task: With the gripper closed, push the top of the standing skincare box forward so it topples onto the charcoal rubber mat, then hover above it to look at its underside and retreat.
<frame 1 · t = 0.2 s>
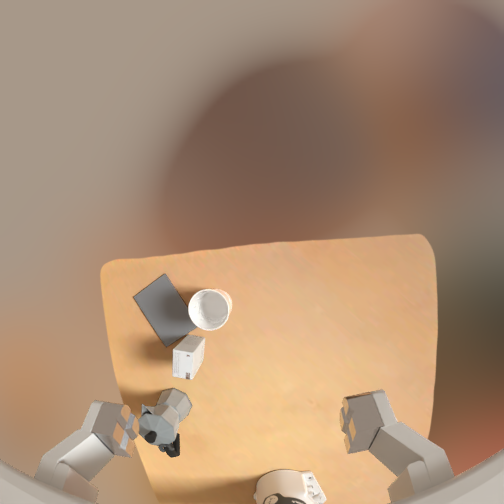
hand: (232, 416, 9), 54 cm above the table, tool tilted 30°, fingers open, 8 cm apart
white cup: (217, 303, 63), on the table
skincare box: (196, 348, 63), on the table
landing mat: (165, 310, 64), on the table
coffee maker: (177, 406, 62), on the table
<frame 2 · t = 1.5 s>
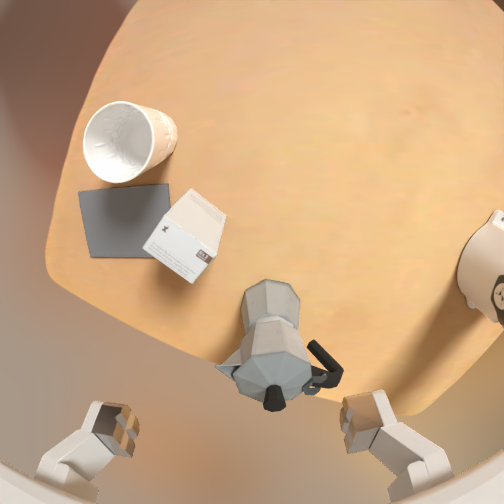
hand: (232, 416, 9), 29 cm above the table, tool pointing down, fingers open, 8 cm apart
white cup: (153, 137, 32), on the table
skincare box: (201, 212, 36), on the table
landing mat: (124, 222, 37), on the table
coffee maker: (277, 305, 42), on the table
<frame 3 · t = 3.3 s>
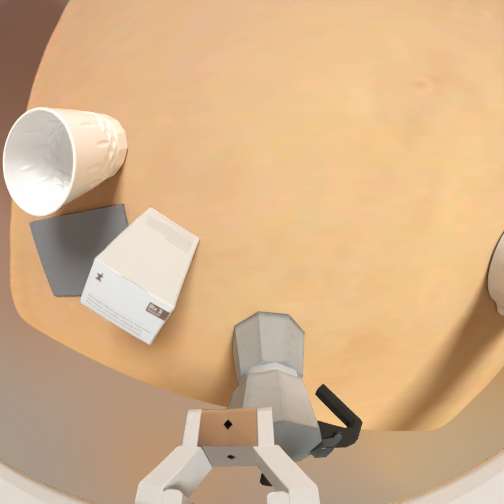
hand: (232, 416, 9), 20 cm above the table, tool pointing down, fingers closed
white cup: (99, 147, 24), on the table
skincare box: (168, 236, 28), on the table
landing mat: (82, 255, 29), on the table
coffee maker: (276, 340, 33), on the table
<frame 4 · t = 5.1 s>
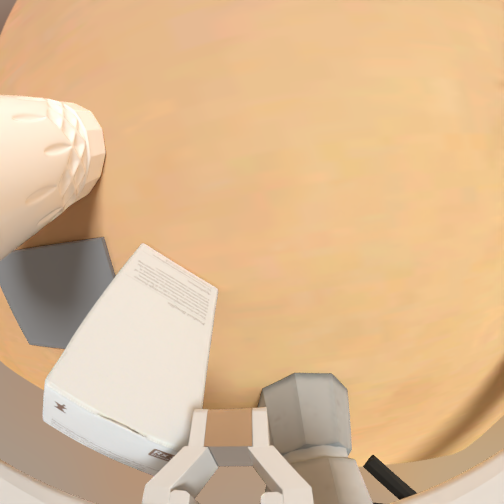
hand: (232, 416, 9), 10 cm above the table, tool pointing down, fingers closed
white cup: (66, 152, 15), on the table
skincare box: (171, 284, 19), on the table, touching gripper
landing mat: (56, 301, 20), on the table
coffee maker: (313, 399, 25), on the table
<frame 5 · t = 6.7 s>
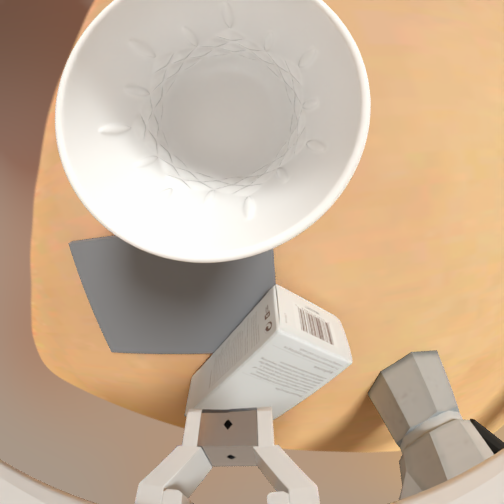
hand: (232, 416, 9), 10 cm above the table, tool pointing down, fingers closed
white cup: (229, 117, 15), on the table
skincare box: (320, 323, 17), point 3 cm above the table, touching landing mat
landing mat: (173, 297, 19), on the table
coffee maker: (414, 378, 24), on the table
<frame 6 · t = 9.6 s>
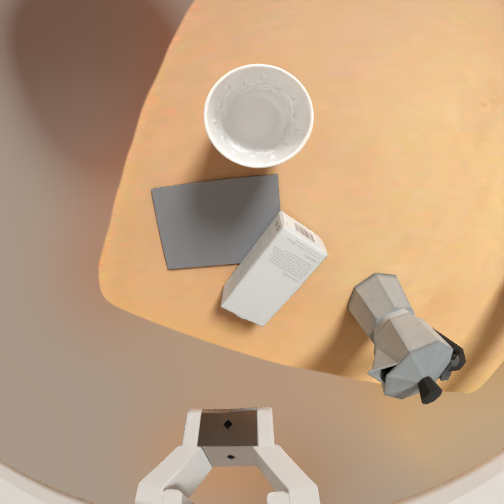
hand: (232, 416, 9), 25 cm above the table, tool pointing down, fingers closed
white cup: (255, 119, 28), on the table
skincare box: (307, 231, 30), point 3 cm above the table, touching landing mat
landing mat: (218, 223, 33), on the table
coffee maker: (382, 299, 38), on the table
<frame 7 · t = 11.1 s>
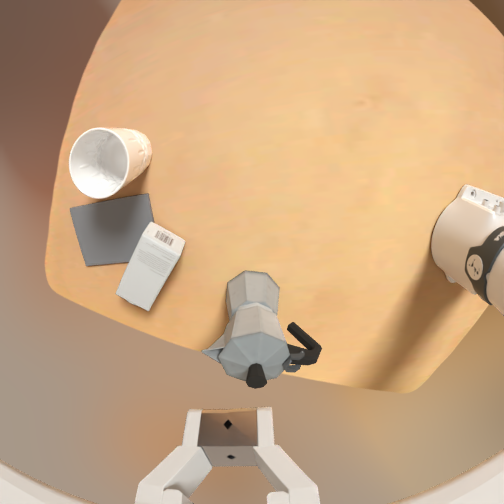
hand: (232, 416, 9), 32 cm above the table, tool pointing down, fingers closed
white cup: (130, 153, 36), on the table
skincare box: (166, 236, 38), point 3 cm above the table, touching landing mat
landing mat: (113, 232, 40), on the table
coffee maker: (259, 294, 46), on the table
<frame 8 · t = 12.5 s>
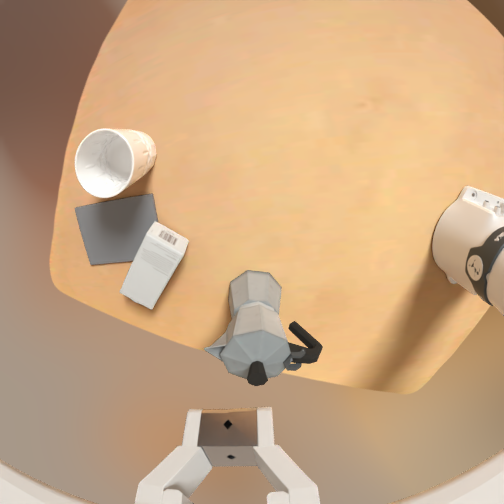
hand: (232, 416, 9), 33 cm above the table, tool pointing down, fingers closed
white cup: (135, 153, 37), on the table
skincare box: (170, 236, 39), point 3 cm above the table, touching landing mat
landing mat: (118, 231, 41), on the table
coffee maker: (261, 293, 46), on the table
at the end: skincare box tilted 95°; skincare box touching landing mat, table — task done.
